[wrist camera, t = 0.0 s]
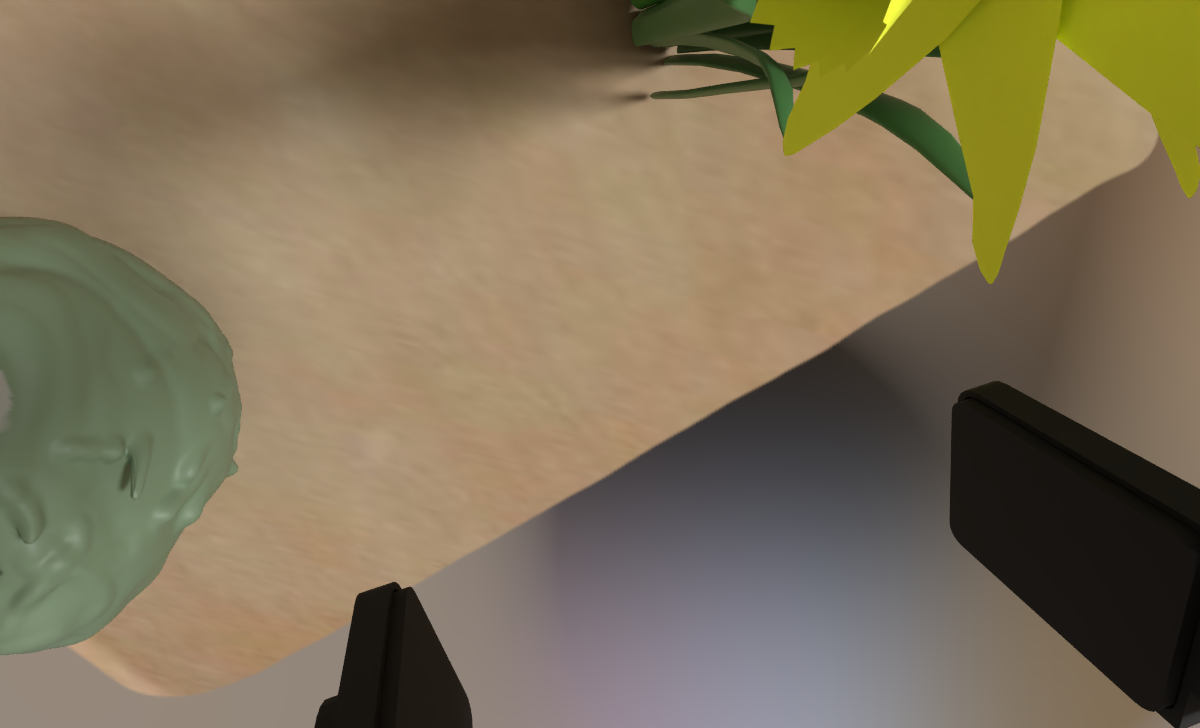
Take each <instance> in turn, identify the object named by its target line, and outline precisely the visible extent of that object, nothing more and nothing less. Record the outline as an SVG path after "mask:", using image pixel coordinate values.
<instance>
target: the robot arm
mask: <svg viewBox="0 0 1200 728" xmlns="http://www.w3.org/2000/svg"><path fill="white" fill-rule="evenodd" d="M950 527H951V530H952V533H953V535H954V537H955V538H956V539H957V541H958V542H959V543H960V544H961V545H962V546H963V547H964V548H965V549H966V550H967V551H968V552H970V553H971V554H972V555H973V556H974V557H975V558H976V559H977V560H978V561H979V562H980V563H982V564H983V565H984V566H985V567H986V568H987V569H988V570H989V571H991V572H992V573H993V574H994V575H995V576H996V577H997V578H998V579H999V580H1000V581H1002V582H1003V583H1004V584H1005V585H1006V586H1007V587H1008V588H1009V589H1010V590H1012V591H1013V592H1014V593H1015V594H1016V595H1017V596H1018V597H1019V598H1020V599H1021V600H1023V601H1024V602H1025V603H1026V604H1027V605H1028V606H1029V607H1030V608H1031V609H1032V610H1034V611H1035V612H1036V613H1037V614H1038V615H1039V616H1040V617H1041V618H1042V619H1044V620H1045V621H1046V622H1047V623H1048V624H1049V625H1050V626H1051V627H1052V628H1053V629H1055V630H1056V631H1057V632H1058V633H1059V634H1060V635H1061V636H1062V637H1063V638H1065V639H1066V640H1067V641H1068V642H1069V643H1070V644H1071V645H1073V647H1074V648H1076V649H1077V650H1078V651H1079V652H1080V653H1081V654H1082V655H1083V656H1084V657H1085V658H1087V659H1088V660H1089V661H1090V662H1091V663H1092V664H1093V665H1094V666H1095V667H1097V668H1098V669H1099V670H1100V671H1101V672H1102V673H1103V674H1104V675H1105V676H1107V677H1108V678H1109V679H1110V680H1111V681H1112V682H1113V683H1114V684H1115V685H1116V686H1118V687H1119V688H1120V689H1121V690H1122V691H1123V692H1124V693H1125V694H1126V695H1128V696H1129V697H1130V698H1131V699H1132V700H1133V701H1134V702H1135V703H1137V704H1138V705H1139V706H1141V707H1142V708H1144V709H1146V710H1148V711H1153V712H1154V711H1156V712H1157V713H1159V714H1160V715H1161V716H1162V717H1163V718H1164V719H1165V720H1166V721H1168V722H1169V723H1170V724H1171V725H1172V726H1173V727H1174V728H1188V727H1190V726H1193V725H1195V724H1198V723H1200V489H1198V488H1197V487H1195V486H1193V485H1191V484H1190V483H1188V482H1186V481H1184V480H1182V479H1180V478H1178V477H1177V476H1175V475H1173V474H1171V473H1169V472H1167V471H1166V470H1164V469H1162V468H1160V467H1158V466H1156V465H1155V464H1153V463H1151V462H1149V461H1147V460H1145V459H1143V458H1142V457H1140V456H1138V455H1136V454H1134V453H1132V452H1131V451H1129V450H1127V449H1125V448H1123V447H1121V446H1119V445H1118V444H1116V443H1114V442H1112V441H1110V440H1108V439H1107V438H1105V437H1103V436H1101V435H1099V434H1097V433H1095V432H1094V431H1092V430H1090V429H1088V428H1086V427H1084V426H1083V425H1081V424H1079V423H1077V422H1075V421H1073V420H1071V419H1070V418H1068V417H1066V416H1064V415H1062V414H1060V413H1059V412H1057V411H1055V410H1053V409H1051V408H1049V407H1047V406H1046V405H1044V404H1042V403H1040V402H1038V401H1036V400H1035V399H1032V398H1031V397H1029V396H1027V395H1025V394H1023V393H1022V392H1020V391H1018V390H1016V389H1014V388H1012V387H1011V386H1009V385H1007V384H1004V383H1002V382H1000V381H993V382H990V383H987V384H984V385H981V386H978V387H975V388H972V389H969V390H966V391H964V392H962V393H961V394H960V396H959V397H958V403H956V404H954V406H953V408H952V431H951V482H950ZM315 728H472V714H471V708H470V704H469V700H468V697H467V695H466V693H465V691H464V689H463V687H462V685H461V683H460V681H459V679H458V677H457V675H456V673H455V671H454V669H453V667H452V665H451V663H450V661H449V659H448V657H447V655H446V653H445V651H444V649H443V647H442V645H441V643H440V641H439V639H438V637H437V635H436V633H435V631H434V629H433V627H432V625H431V623H430V621H429V619H428V617H427V615H426V613H425V611H424V609H423V607H422V605H421V603H420V601H419V599H418V597H417V595H416V593H415V591H414V590H413V588H412V587H407V588H404V589H401V587H400V586H399V584H397V583H396V582H392V583H389V584H386V585H383V586H380V587H377V588H374V589H371V590H368V591H365V592H362V593H359V594H358V596H357V597H356V601H355V605H354V611H353V616H352V621H351V627H350V632H349V638H348V643H347V649H346V654H345V659H344V665H343V670H342V676H341V681H340V687H339V692H338V695H337V696H334V697H331V698H329V699H326V700H325V701H324V702H323V703H322V705H321V706H320V709H319V712H318V715H317V718H316V723H315Z"/></svg>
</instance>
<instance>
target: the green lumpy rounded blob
mask: <svg viewBox="0 0 1200 728" xmlns="http://www.w3.org/2000/svg"><path fill="white" fill-rule="evenodd" d="M232 356H233V351H232V348H231V346H230V345H229V342H228V340H227V338H226V337H225V336H224V334H223V333H222V331H221V330H220V328H219V327H218V325H217V324H216V323H215V321H214V320H213V318H212V317H211V315H210V314H209V313H208V311H207V310H206V309H205V308H204V307H203V306H202V305H201V304H200V303H199V302H198V301H197V300H195V299H194V298H193V297H191V296H190V295H189V294H188V293H186V292H185V291H184V290H183V289H182V288H180V287H179V286H178V285H176V284H175V283H174V282H172V281H171V280H169V279H168V278H167V277H165V276H164V275H163V274H161V273H160V272H159V271H157V270H156V269H154V268H153V267H152V266H150V265H149V264H147V263H146V262H144V261H143V260H141V259H140V258H138V257H136V256H135V255H133V254H131V253H129V252H128V251H126V250H124V249H122V248H120V247H117V246H115V245H113V244H111V243H108V242H106V241H103V240H100V239H98V238H94V237H91V236H89V235H87V234H86V233H84V232H83V231H81V230H79V229H77V228H75V227H73V226H70V225H68V224H65V223H61V222H57V221H53V220H47V219H39V218H29V217H0V655H10V654H25V653H33V652H38V651H42V650H46V649H52V648H58V647H64V646H68V645H73V644H76V643H79V642H82V641H84V640H86V639H88V638H90V637H92V636H93V635H95V634H96V633H97V632H99V631H100V630H101V629H102V628H104V627H105V626H106V625H107V624H108V623H110V622H111V621H112V620H113V619H114V618H115V617H116V616H117V615H118V614H119V613H120V612H121V611H122V610H123V609H124V607H125V606H126V605H127V604H128V603H129V602H130V601H131V600H132V599H134V598H135V597H136V596H137V595H138V594H139V593H141V592H142V591H143V590H144V589H145V588H146V587H147V586H149V585H150V584H151V582H152V581H153V580H154V579H155V578H156V577H157V576H158V574H159V573H160V571H161V570H162V568H163V566H164V563H165V561H166V559H167V557H168V554H169V553H170V551H171V549H172V548H173V546H174V545H175V543H176V541H177V540H178V538H179V536H180V535H181V533H182V531H183V530H184V528H185V527H187V526H189V525H190V524H192V523H194V522H195V521H196V520H197V519H198V518H199V517H200V515H201V513H202V510H203V508H204V506H205V504H206V503H207V502H208V500H209V499H210V498H211V497H212V496H213V494H214V493H215V492H216V490H217V489H218V488H219V487H220V485H221V484H222V482H223V481H224V480H225V478H227V477H229V476H231V475H233V474H235V473H236V472H237V471H238V465H237V464H236V463H235V462H234V460H233V455H234V453H235V452H236V449H237V439H238V434H239V431H240V418H241V410H242V405H241V399H240V394H239V390H238V385H237V380H236V376H235V372H234V367H233V362H232Z"/></svg>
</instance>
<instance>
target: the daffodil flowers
mask: <svg viewBox="0 0 1200 728" xmlns="http://www.w3.org/2000/svg"><path fill="white" fill-rule="evenodd" d="M630 1H631V2H632V4H633V5H634V6H635V7H636V8H638V9H644V8H647V7H649V6H651V7H649V8H647V9H645V10H643V11H641V12H640V13H639V14H638V16H637V18H635V19H633V22H632V40H633V43H634V45H635V46H636V47H637V46H642V45H647V44H650V45H651V46H654V47H664V48H665V47H672V46H678V47H677V53H688V52H699V51H713V50H718V51H721V52H724V53H728V54H731V55H735V56H731V55H723V54H683V55H675V56H672V57H669V58H668V59H666V60H665V61H664V63H665V64H666V65H692V66H705V67H711V68H717V69H723V70H729V71H735V72H741V73H744V74H747V75H751V76H754V77H757V78H760V79H753V80H747V81H740V82H733V83H726V84H720V85H714V86H708V87H702V88H696V89H690V90H676V91H660V92H655V93H653V94H651V95H650V97H651V98H653V99H687V98H697V97H704V96H712V95H720V94H728V93H737V92H746V91H755V90H764V89H770V90H771V93H772V97H773V101H774V105H775V109H776V114H777V118H778V122H779V127H780V130H781V132H782V135H783V151H784V155H785V156H789V155H792V154H795V153H797V152H798V151H800V150H801V149H803V148H805V147H806V146H808V145H810V144H811V143H813V142H814V141H816V140H817V139H819V138H821V137H822V136H824V135H825V134H827V133H828V132H830V131H832V130H833V129H835V128H836V127H838V126H839V125H840V124H842V123H843V122H844V121H846V120H847V119H849V118H850V117H851V116H853V115H854V114H855V113H857V114H859V115H862V116H864V117H866V118H868V119H870V120H871V121H873V122H875V123H877V124H879V125H881V126H882V127H884V128H885V129H887V130H888V131H890V132H891V133H892V134H894V135H895V136H897V137H898V138H900V139H901V140H903V141H904V142H906V143H907V144H908V145H910V146H911V147H913V148H914V149H916V150H917V151H918V152H919V153H920V154H921V155H923V156H924V157H925V158H926V159H927V160H928V161H929V162H931V163H932V164H933V165H934V166H935V167H936V168H938V169H939V170H940V171H941V172H942V173H943V174H944V175H946V176H947V177H948V178H949V179H950V180H951V181H952V182H954V183H955V184H956V185H957V186H958V187H959V188H960V189H961V190H963V191H964V192H965V193H966V194H967V195H968V196H969V197H970V198H972V199H973V236H972V242H973V246H974V250H975V254H976V257H977V261H978V264H979V268H980V271H981V272H982V274H983V275H984V277H985V279H986V280H987V282H988V283H990V284H992V283H993V282H994V280H995V278H996V276H997V274H998V273H999V269H1000V266H1001V262H1002V259H1003V256H1004V253H1005V249H1006V246H1007V244H1008V241H1009V238H1010V235H1011V232H1012V229H1013V226H1014V223H1015V220H1016V217H1017V214H1018V211H1019V208H1020V204H1021V200H1022V197H1023V193H1024V189H1025V186H1026V182H1027V179H1028V175H1029V171H1030V168H1031V164H1032V161H1033V157H1034V153H1035V150H1036V146H1037V141H1038V135H1039V130H1040V124H1041V119H1042V113H1043V108H1044V102H1045V97H1046V91H1047V86H1048V80H1049V75H1050V70H1051V64H1052V59H1053V53H1054V48H1055V42H1056V38H1057V39H1058V40H1059V41H1060V42H1062V43H1063V44H1064V45H1065V46H1067V47H1068V48H1069V49H1070V50H1072V51H1073V52H1074V53H1075V54H1077V55H1078V56H1079V57H1081V58H1082V59H1083V60H1084V61H1086V62H1087V63H1088V64H1089V65H1091V66H1092V67H1093V68H1094V69H1096V70H1097V71H1098V72H1099V73H1101V74H1102V75H1103V76H1104V77H1106V78H1107V79H1108V80H1109V81H1111V82H1112V83H1113V84H1114V85H1116V86H1117V87H1118V88H1119V89H1121V90H1122V91H1123V92H1124V93H1126V94H1127V95H1128V96H1129V97H1131V98H1132V99H1133V100H1134V101H1136V102H1137V103H1138V104H1139V105H1141V106H1142V107H1143V108H1144V109H1146V110H1147V111H1148V112H1150V113H1151V115H1152V118H1153V120H1154V123H1155V125H1156V128H1157V130H1158V133H1159V135H1160V138H1161V140H1162V142H1163V145H1164V147H1165V149H1166V151H1167V154H1168V156H1169V158H1170V160H1171V163H1172V165H1173V167H1174V169H1175V172H1176V175H1177V177H1178V180H1179V182H1180V185H1181V187H1182V189H1183V191H1184V192H1185V194H1186V196H1187V197H1188V198H1191V197H1192V196H1193V195H1194V193H1195V192H1196V190H1197V187H1198V183H1199V179H1200V166H1199V161H1198V156H1197V151H1196V146H1198V147H1199V148H1200V0H630ZM657 3H658V4H657ZM654 4H656V5H654ZM652 5H653V6H652ZM758 49H760V50H758ZM761 50H769V51H770V50H795V55H794V66H789V65H785V64H781V63H777V62H776V61H775V60H773V59H772V58H771V57H770V56H769V55H767V54H766V53H764V52H763V51H761ZM924 57H941V58H942V63H943V67H944V72H945V76H946V81H947V85H948V90H949V94H950V99H951V103H952V108H953V112H954V117H955V121H956V126H957V130H958V135H959V139H960V143H961V146H960V145H959V143H958V142H957V141H956V140H955V138H954V137H953V136H952V135H951V134H950V133H949V132H948V131H947V130H945V129H944V128H943V127H942V126H941V125H939V124H938V123H937V122H936V121H934V120H933V119H932V118H931V117H930V116H928V115H927V114H926V113H925V112H923V111H922V110H921V109H919V108H917V107H915V106H913V105H911V104H909V103H907V102H905V101H903V100H901V99H898V98H895V97H893V96H890V95H887V94H884V93H883V92H884V91H885V90H886V89H887V88H889V87H890V86H891V85H892V84H893V83H894V82H896V81H897V80H898V79H899V78H900V77H901V76H903V75H904V74H905V73H906V72H907V71H909V70H910V69H911V68H912V67H913V66H914V65H916V64H917V63H918V62H919V61H920V60H921V59H923V58H924ZM809 64H810V68H809V70H805V69H801V67H803V66H806V65H809ZM792 88H793V89H797V90H800V91H801V92H800V94H799V96H798V98H797V100H796V102H795V104H794V106H793V89H792Z"/></svg>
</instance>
